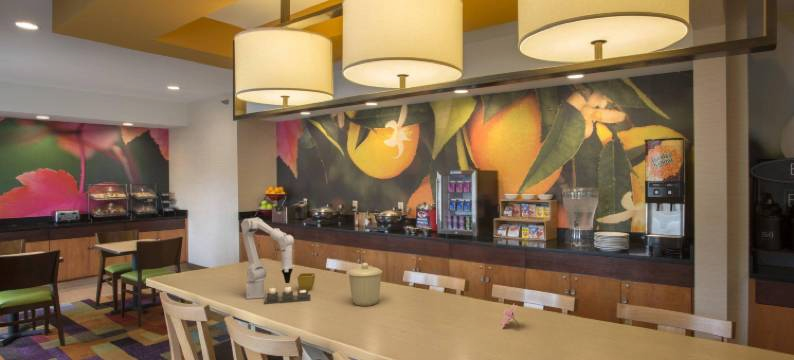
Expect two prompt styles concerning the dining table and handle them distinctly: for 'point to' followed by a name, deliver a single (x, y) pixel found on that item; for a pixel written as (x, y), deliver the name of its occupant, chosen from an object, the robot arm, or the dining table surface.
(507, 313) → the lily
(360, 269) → the canister
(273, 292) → the knob near
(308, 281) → the flower pot
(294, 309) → the dining table surface
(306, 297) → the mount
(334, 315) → the dining table surface
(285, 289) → the knob middle
